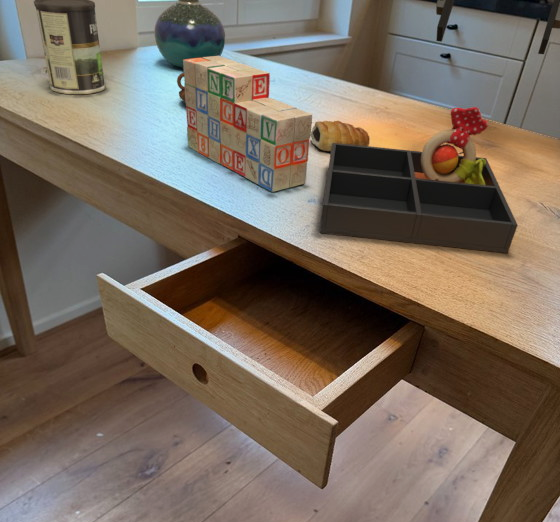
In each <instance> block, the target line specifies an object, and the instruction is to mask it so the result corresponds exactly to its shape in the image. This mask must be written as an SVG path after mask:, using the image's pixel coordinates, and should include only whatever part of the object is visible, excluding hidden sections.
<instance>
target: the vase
mask: <svg viewBox="0 0 560 522" xmlns="http://www.w3.org/2000/svg"><path fill="white" fill-rule="evenodd" d="M154 40H155V43H156V47H157V49H158V51H159V54H160V55H161V57H163V58H164V60H165V61H166V62H167V63H169V64H170V65H172V66H174V67H177V68H180V69H184V67H183V60H185V59H193V58H202V57H211V56H221V57H222V54H223V52H224V48H225V44H226V31H225V27H224V25H223V23H222V21H221V19H220V18H219V17H218V15H217V14H216V13H214V12H213V11H212V10H211V9H210V8H208V7H207V6H205V5H204V4H202V3H201V2H200V0H178V1H176V2H175V3H173V4H171V5H170V6H169V7H167V8H166V9H165V10H163V11H162V12H161V14H159V16H158V17H157V19H156V21H155V25H154Z"/></svg>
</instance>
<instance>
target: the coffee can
mask: <svg viewBox="0 0 560 522" xmlns="http://www.w3.org/2000/svg"><path fill="white" fill-rule="evenodd" d="M33 5H34V7H35V11H36V18H37V23H38V27H39V32H40V38H41V43H42V49H43V53H44V57H45V58H44V59H45V64H46V70H47V75H48V79H49V88H50V90H51V91H52V92H55V93H58V94H59V93H60V94H65V95H91V94H96V93H100V92H102V91H104V90H105V89H106V84H105V77H104V71H103V70H104V69H103V62H102V54H101V53H102V52H101V46H100V39H99V31H98V30H99V29H98V22H97V16H96V3H95V1H93V0H33Z"/></svg>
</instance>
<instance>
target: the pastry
mask: <svg viewBox="0 0 560 522" xmlns="http://www.w3.org/2000/svg"><path fill="white" fill-rule="evenodd" d="M310 139H311V143H312V144H313V145H314V146H316V147H317V148H318V149H319V150H321V151H325V152H331V147H332V143H340V144H350V145H360V146H370V140H371V139H370V136H369V133H368V131H366V130H365V129H364V128H362V127H360V126H357V127H355V126H354V125H353V124H350V123H346V122H342V121H340V120H334V121H331V120H323V121H319V120H318V121H315V123H314V126H313V127H311V136H310Z"/></svg>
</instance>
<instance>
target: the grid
mask: <svg viewBox="0 0 560 522" xmlns="http://www.w3.org/2000/svg"><path fill="white" fill-rule="evenodd" d="M421 154H422V151H419V150H410V149H400V148H399V149H398V148H389V147H379V146H370V145H368V146H360V145H350V144H340V143H332V147H331V151H330V153H329V161H328V168H327V169H328V170H327V175H326V181H325V188H324V195H323V201H322V209H321V217H320V226H319V234H326V235H336V236H346V237H354V238H362V239H371V240H373V239H374V240H383V241H391V242H392V241H393V242H402V243H410V244H419V245H426V246H427V245H428V246H438V247H447V248H455V249H456V248H457V249H464V250H474V251H483V252H492V253H502V254H508V253H509V250H510V248H511V245H512V242H513V239H514V237H515V234H516V230H517V229H518V223H517V221H516V219H515V217H514V214H513V211H512V209H511V208H510V206H509V203H508V200H507V199H506V197H505V195H504V192H503V191H502V188H501V187H500V184H499V183H498V180H497V177H496V176H495V173H494V172H493V170H492V168H491V165H490V163H489V161H488V159H487V158H486V157H478V156H476V160H475V161H477V160H479V159H484V160H485V161H486V164H485V166H484V167H482V172H481V174H482V177H483V179H484V181H485V185H478V184H468V183H465V181H463V182H460V183H458V182H448V181H439V180H429V179H427V178H426V177H425V175H424V173H423V171H422V167H421ZM463 157H464V155H461V154H459V155H458V163H457V165H456V167H455V168H454V169H453V170H452V171H451V172H449V173H447V174H451V173H453V172H454V171H455V170H456V169H457V168H458V167H459V164H460V161H461V159H463Z"/></svg>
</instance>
